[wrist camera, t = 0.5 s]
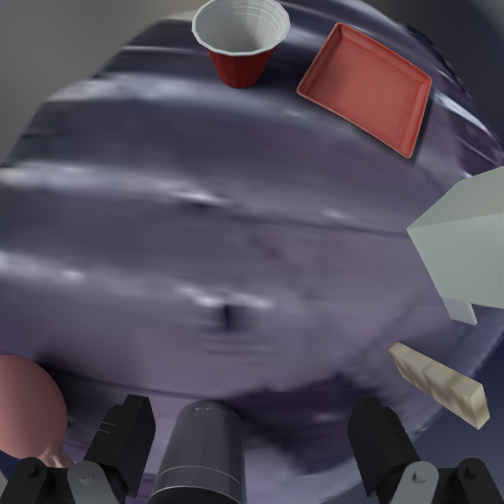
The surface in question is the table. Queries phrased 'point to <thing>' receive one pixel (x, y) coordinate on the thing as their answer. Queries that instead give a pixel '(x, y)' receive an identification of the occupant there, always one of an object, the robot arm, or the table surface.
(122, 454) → the robot arm
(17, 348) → the table surface
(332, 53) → the plant saucer
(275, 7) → the plastic cup
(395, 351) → the tall wooden plank
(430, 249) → the cabinet
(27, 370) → the balloon
